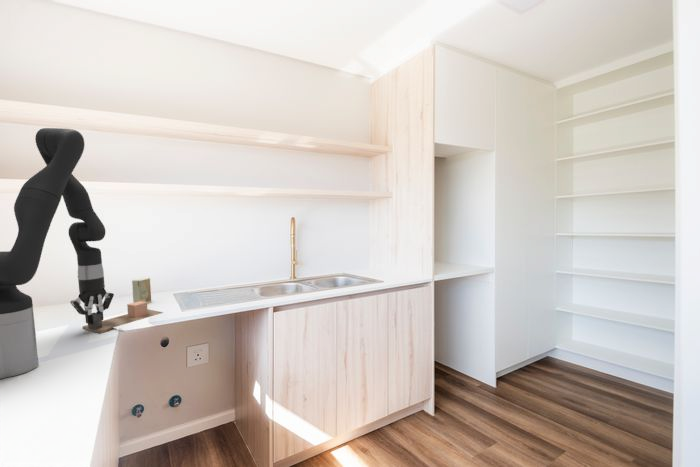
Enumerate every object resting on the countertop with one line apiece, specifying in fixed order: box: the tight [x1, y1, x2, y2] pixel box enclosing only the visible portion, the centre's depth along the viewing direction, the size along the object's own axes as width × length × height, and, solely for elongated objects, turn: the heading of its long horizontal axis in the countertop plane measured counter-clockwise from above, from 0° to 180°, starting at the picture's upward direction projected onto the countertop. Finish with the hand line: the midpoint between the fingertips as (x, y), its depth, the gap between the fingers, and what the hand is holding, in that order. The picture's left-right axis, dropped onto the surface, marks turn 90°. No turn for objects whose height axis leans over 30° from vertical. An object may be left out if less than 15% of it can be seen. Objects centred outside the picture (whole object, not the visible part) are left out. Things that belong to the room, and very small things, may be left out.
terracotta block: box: [126, 301, 148, 318], centre depth 141 cm, size 5×5×5 cm
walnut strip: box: [82, 308, 164, 334], centre depth 137 cm, size 24×12×6 cm, turn 151°
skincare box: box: [131, 277, 152, 305], centre depth 159 cm, size 6×4×12 cm
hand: (95, 322), depth 128 cm, fingers closed on walnut strip, 2 cm apart
